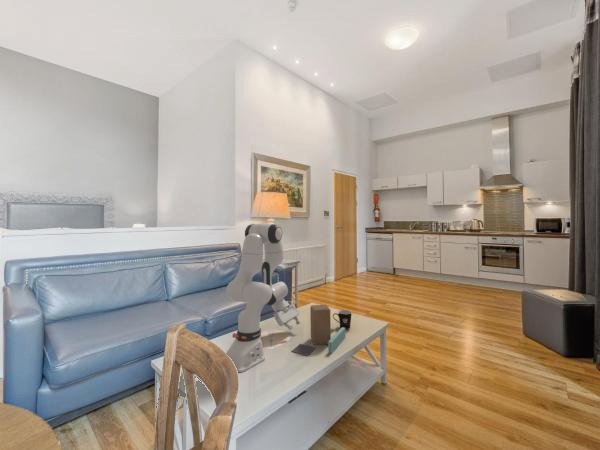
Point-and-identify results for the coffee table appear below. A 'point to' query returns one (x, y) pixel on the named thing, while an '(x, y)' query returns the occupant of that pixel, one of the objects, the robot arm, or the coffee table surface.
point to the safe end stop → (336, 340)
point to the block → (320, 324)
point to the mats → (305, 348)
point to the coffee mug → (344, 318)
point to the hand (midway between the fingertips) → (295, 326)
